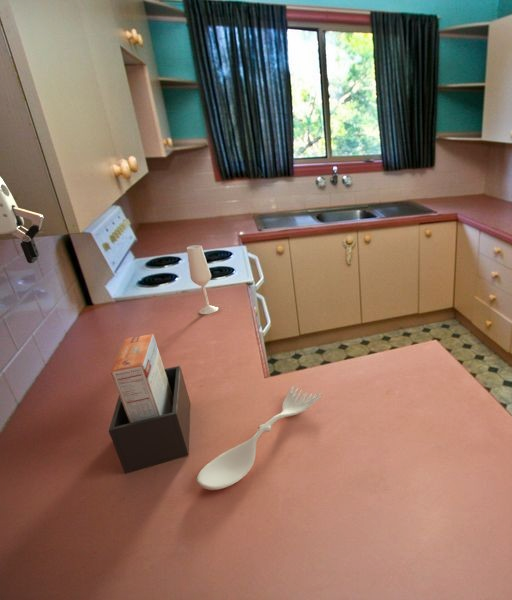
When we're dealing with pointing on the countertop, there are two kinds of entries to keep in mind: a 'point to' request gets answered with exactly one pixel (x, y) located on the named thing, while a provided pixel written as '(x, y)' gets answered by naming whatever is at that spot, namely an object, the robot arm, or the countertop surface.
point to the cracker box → (142, 379)
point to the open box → (154, 430)
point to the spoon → (248, 447)
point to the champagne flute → (200, 273)
